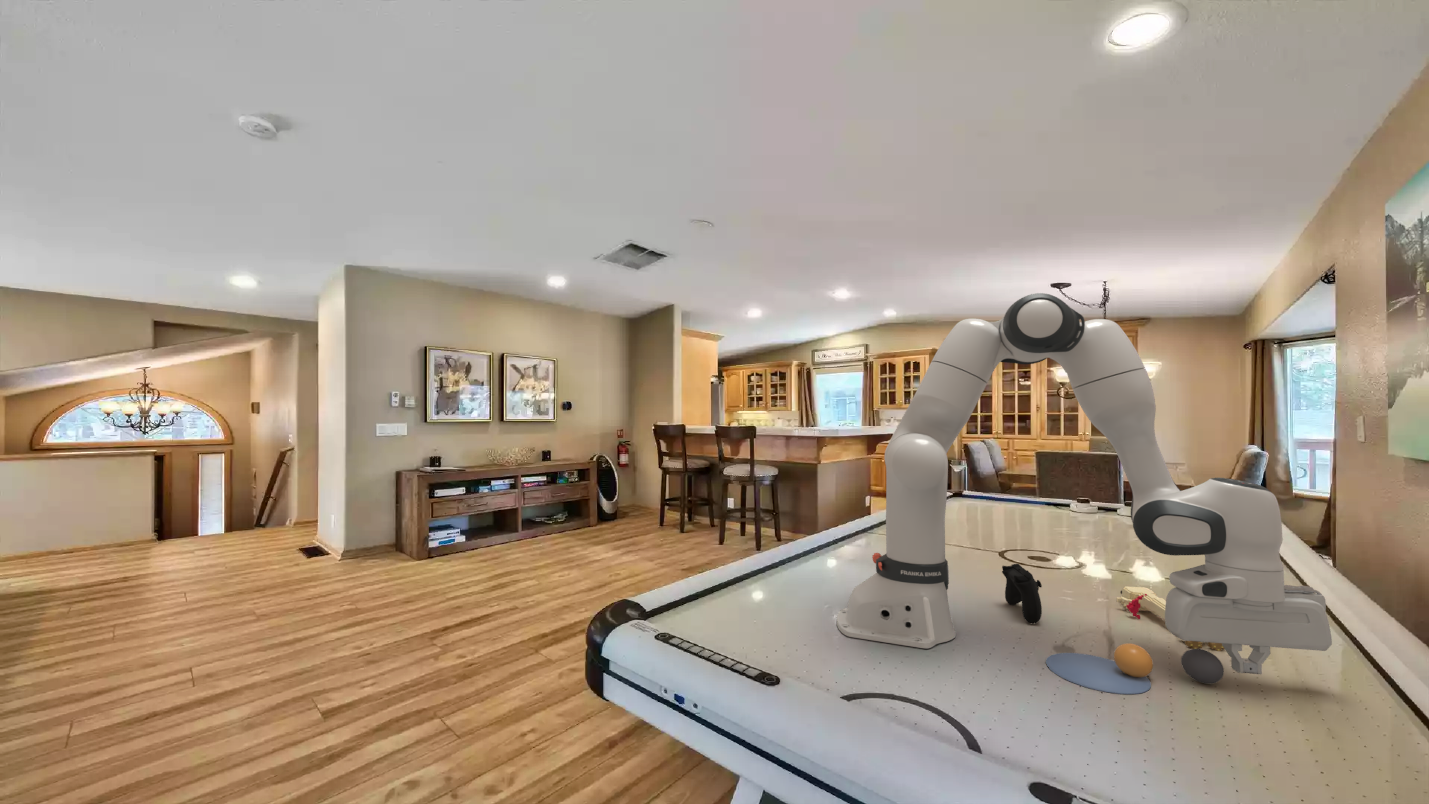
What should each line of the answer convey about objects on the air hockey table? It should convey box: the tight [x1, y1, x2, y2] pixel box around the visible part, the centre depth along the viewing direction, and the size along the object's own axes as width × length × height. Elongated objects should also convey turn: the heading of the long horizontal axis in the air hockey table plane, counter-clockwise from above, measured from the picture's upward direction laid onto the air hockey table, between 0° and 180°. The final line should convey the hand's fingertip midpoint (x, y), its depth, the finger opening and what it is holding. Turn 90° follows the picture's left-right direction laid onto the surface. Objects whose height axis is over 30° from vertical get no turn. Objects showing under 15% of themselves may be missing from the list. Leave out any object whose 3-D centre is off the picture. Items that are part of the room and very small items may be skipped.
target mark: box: [1045, 652, 1152, 695], centre depth 88 cm, size 14×14×1 cm
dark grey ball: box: [1180, 648, 1225, 685], centre depth 85 cm, size 5×5×5 cm
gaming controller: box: [1001, 563, 1043, 625], centre depth 115 cm, size 14×6×10 cm, turn 168°
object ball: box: [1113, 642, 1154, 677], centre depth 87 cm, size 5×5×5 cm
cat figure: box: [1116, 585, 1226, 652], centre depth 109 cm, size 10×9×25 cm
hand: (1246, 672), depth 83 cm, fingers closed
